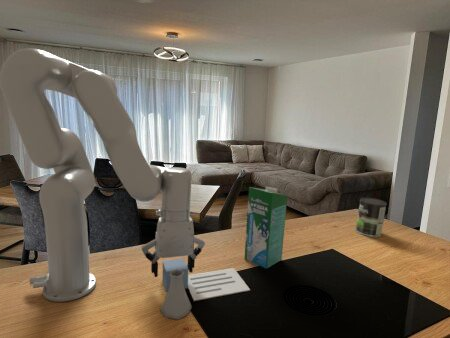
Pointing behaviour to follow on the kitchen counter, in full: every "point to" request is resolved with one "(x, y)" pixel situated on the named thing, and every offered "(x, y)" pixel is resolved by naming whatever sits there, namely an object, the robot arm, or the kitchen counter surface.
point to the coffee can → (370, 217)
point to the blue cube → (173, 265)
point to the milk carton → (265, 226)
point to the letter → (215, 284)
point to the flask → (176, 297)
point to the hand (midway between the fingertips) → (172, 272)
